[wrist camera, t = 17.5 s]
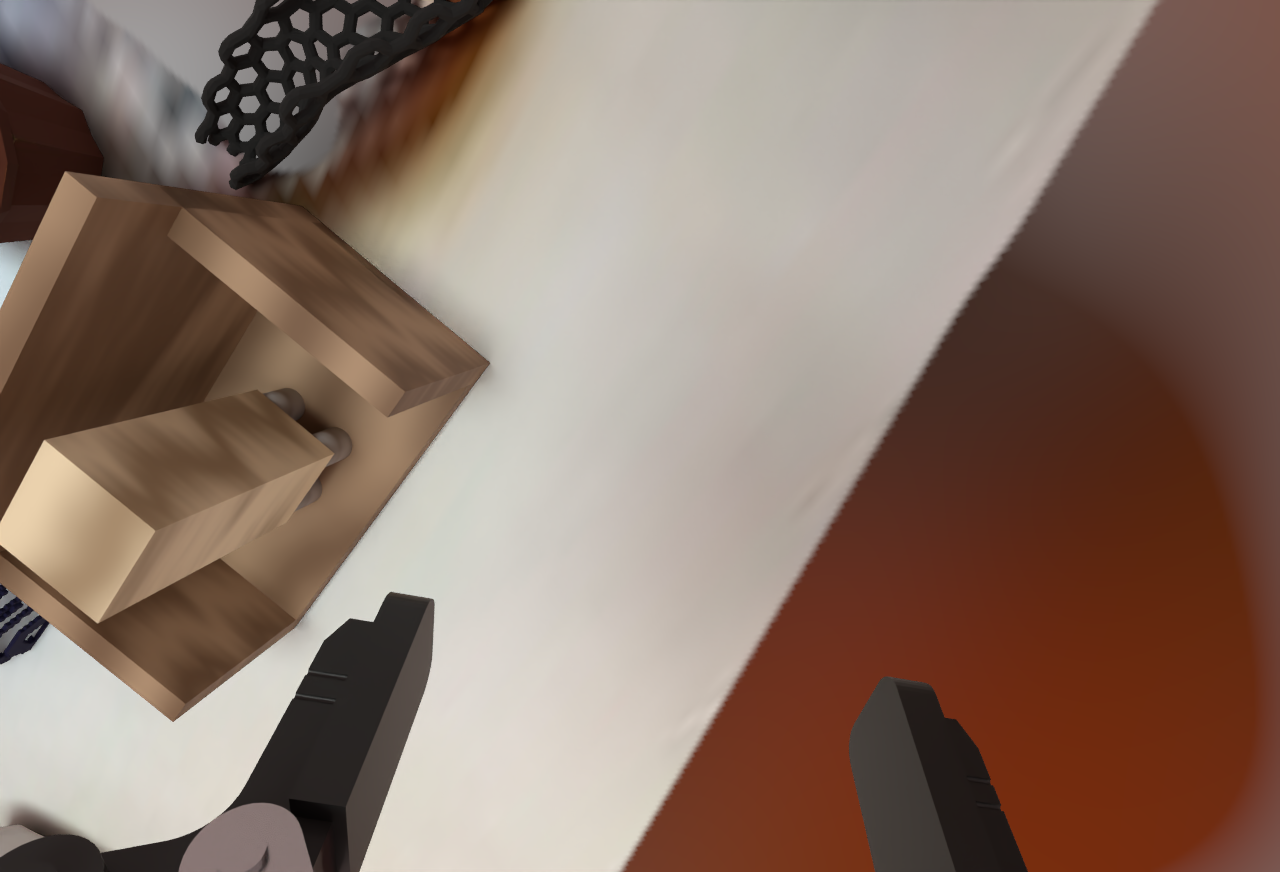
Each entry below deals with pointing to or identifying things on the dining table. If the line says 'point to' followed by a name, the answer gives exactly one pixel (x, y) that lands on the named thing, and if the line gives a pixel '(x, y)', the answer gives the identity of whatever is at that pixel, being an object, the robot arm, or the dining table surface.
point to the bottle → (15, 837)
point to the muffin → (37, 151)
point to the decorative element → (311, 70)
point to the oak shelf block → (158, 497)
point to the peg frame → (216, 396)
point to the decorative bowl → (18, 641)
